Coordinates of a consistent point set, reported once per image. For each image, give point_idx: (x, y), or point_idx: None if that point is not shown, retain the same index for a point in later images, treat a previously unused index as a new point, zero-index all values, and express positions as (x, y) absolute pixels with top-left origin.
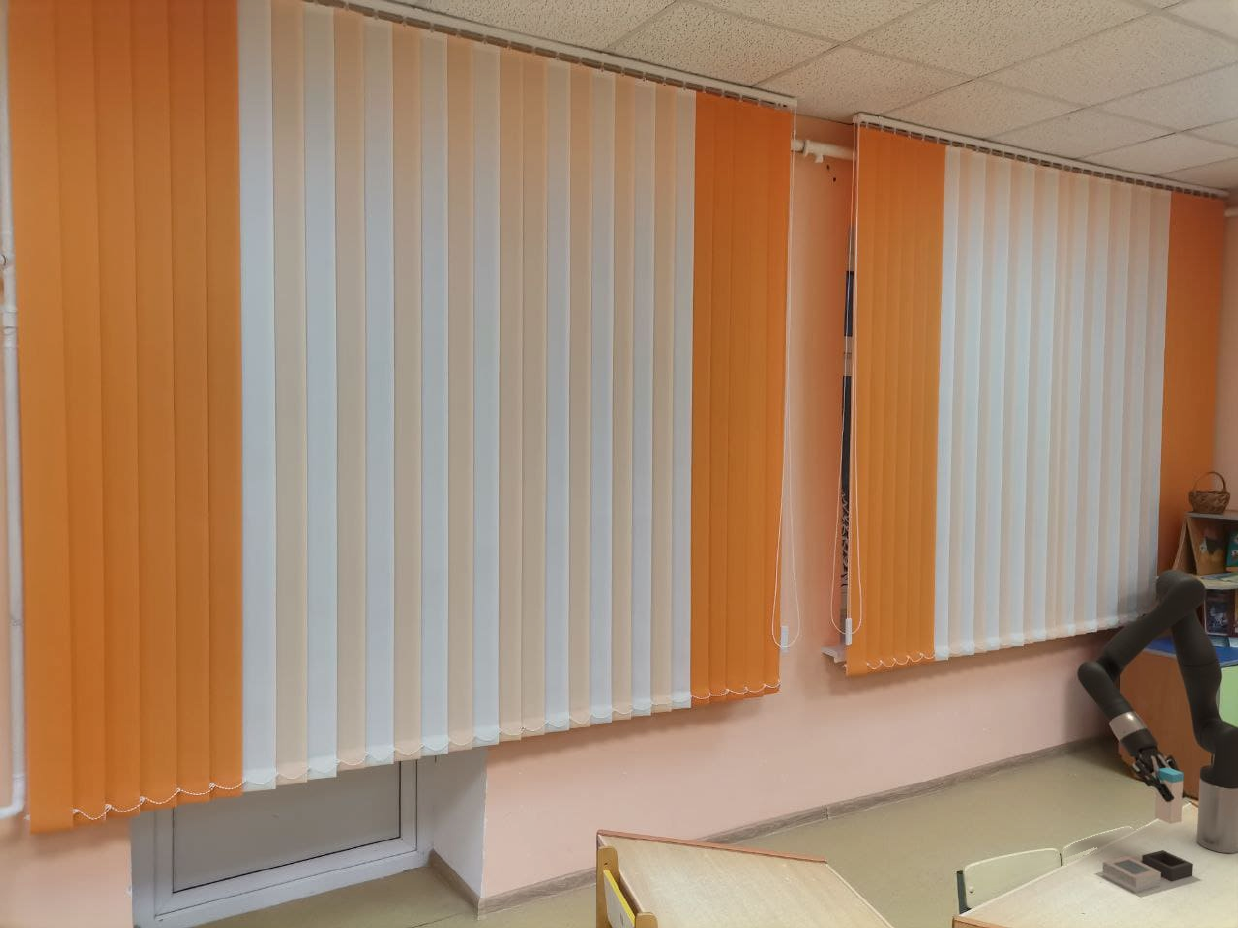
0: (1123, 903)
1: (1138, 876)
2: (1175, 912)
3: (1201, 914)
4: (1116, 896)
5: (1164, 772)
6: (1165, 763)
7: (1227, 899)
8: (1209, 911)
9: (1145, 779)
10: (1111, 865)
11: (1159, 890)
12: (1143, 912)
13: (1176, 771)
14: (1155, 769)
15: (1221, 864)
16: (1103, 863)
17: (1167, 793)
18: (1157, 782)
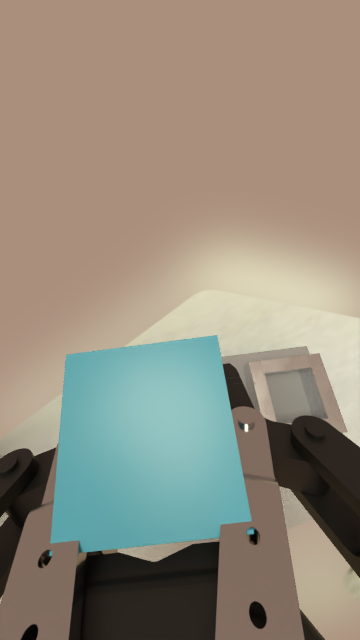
0: (333, 352)
1: (308, 359)
2: (266, 314)
3: (232, 302)
4: (331, 373)
5: (233, 424)
6: (22, 636)
7: (156, 323)
8: (213, 305)
9: (343, 511)
10: (336, 412)
11: (255, 356)
12: (317, 324)
13: (91, 405)
14: (285, 531)
15: (48, 415)
16: (344, 430)
17: (226, 376)
18: (272, 431)
